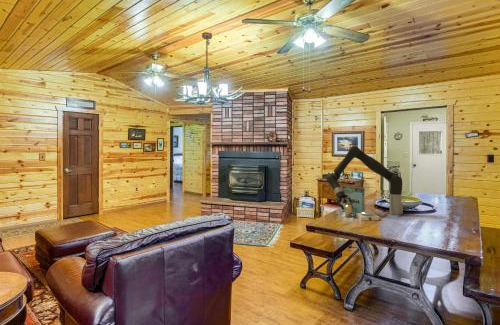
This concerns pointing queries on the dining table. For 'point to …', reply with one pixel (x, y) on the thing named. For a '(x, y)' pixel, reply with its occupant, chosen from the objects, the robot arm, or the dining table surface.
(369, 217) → the base
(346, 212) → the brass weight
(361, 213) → the scale pan
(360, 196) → the gum box
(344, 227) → the dining table surface
